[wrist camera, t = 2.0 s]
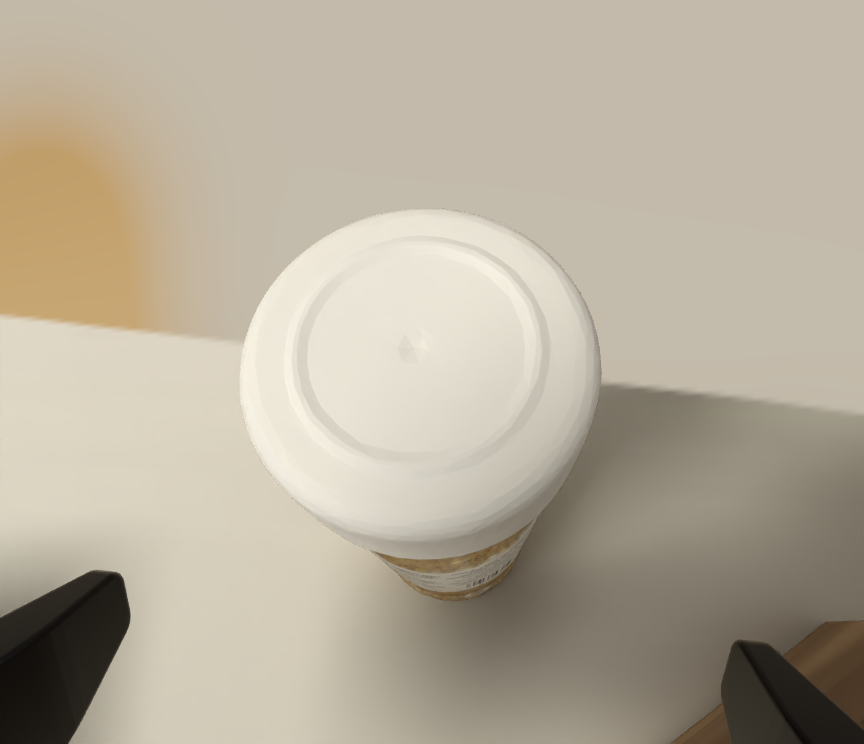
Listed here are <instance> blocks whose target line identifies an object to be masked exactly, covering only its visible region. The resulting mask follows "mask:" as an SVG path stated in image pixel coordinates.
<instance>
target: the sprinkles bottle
mask: <svg viewBox="0 0 864 744" xmlns="http://www.w3.org/2000/svg"><path fill="white" fill-rule="evenodd" d="M600 383H601V360H600V349H599V343H598V337H597V333H596V330H595V326H594V323H593V320H592V316H591V314H590V312H589V309H588V307H587V304H586V302H585V301H584V299H583V297H582V295H581V293H580V291H579V290H578V288H577V287H576V285H575V284H574V283H573V281H572V279H571V278H570V277H569V275H568V274H567V273H566V272H565V271H564V269H563V268H562V267H561V266H560V265H559V264H558V263H557V262H556V261H555V260H554V258H552V256H550V254H548V253H547V252H546V251H545V250H544V249H542V248H541V247H540V246H539V245H538V244H536V243H535V242H534V241H532V240H530V239H529V238H527V237H526V236H524V235H523V234H521V233H520V232H518V231H516V230H514V229H512V228H510V227H508V226H506V225H503V224H501V223H499V222H496V221H494V220H492V219H489V218H486V217H483V216H479V215H475V214H471V213H466V212H461V211H456V210H448V209H406V210H400V211H393V212H387V213H381V214H378V215H375V216H370V217H367V218H363V219H361V220H359V221H356V222H354V223H352V224H350V225H347V226H345V227H343V228H340V229H338V230H336V231H334V232H333V233H331V234H330V235H328V236H326V237H324V238H323V239H321V240H319V241H318V242H316V243H315V244H313V245H312V246H311V247H309V248H308V249H307V250H305V251H304V252H303V253H302V254H301V255H300V256H298V258H296V259H295V260H294V261H293V262H291V263H290V264H289V266H287V268H286V269H285V270H284V271H283V272H282V273H281V274H280V275H279V277H278V278H277V279H276V280H275V282H274V283H273V284H272V285H271V287H270V288H269V290H268V292H267V293H266V294H265V296H264V298H263V299H262V301H261V303H260V305H259V307H258V309H257V311H256V313H255V315H254V317H253V319H252V322H251V324H250V327H249V330H248V333H247V336H246V338H245V342H244V347H243V352H242V356H241V368H240V401H241V408H242V412H243V415H244V420H245V424H246V427H247V430H248V433H249V436H250V438H251V441H252V443H253V445H254V447H255V450H256V452H257V454H258V455H259V457H260V459H261V461H262V462H263V464H264V465H265V467H266V468H267V470H268V471H269V473H270V475H271V476H272V477H273V478H274V480H275V481H276V482H277V483H278V484H279V485H280V486H281V487H282V488H283V490H284V491H285V492H286V493H287V494H288V495H289V496H290V497H291V498H292V499H293V500H295V501H296V502H297V503H298V504H299V505H300V506H301V507H302V508H304V509H305V510H306V511H307V512H308V513H310V514H311V515H312V516H313V517H315V518H316V519H317V520H318V521H319V522H321V523H322V524H323V525H325V526H326V527H328V528H329V529H331V530H332V531H334V532H335V533H337V534H338V535H340V536H341V537H342V538H344V539H346V540H348V541H350V542H352V543H354V544H356V545H358V546H361V547H363V548H365V549H368V550H370V551H371V552H372V553H374V554H375V555H376V556H378V557H379V558H380V559H381V560H382V561H384V562H385V563H386V564H387V565H388V566H390V567H391V568H392V569H393V570H394V571H395V572H397V573H398V574H399V576H400V577H401V578H402V579H403V580H404V581H405V582H406V583H407V584H408V585H410V586H411V587H413V588H414V589H415V590H417V591H418V592H420V593H422V594H424V595H427V596H431V597H434V598H437V599H440V600H449V601H459V600H466V599H470V598H474V597H477V596H480V595H481V594H483V593H485V592H486V591H488V590H490V589H492V588H493V587H495V586H496V584H498V583H499V582H500V581H502V580H503V579H504V578H505V577H506V575H507V574H508V573H509V572H510V570H511V569H512V566H513V565H514V563H515V561H516V560H517V558H518V555H519V553H520V549H521V548H522V546H523V544H524V542H525V540H526V539H527V537H528V536H529V534H530V532H531V530H532V528H533V526H534V524H535V522H536V520H537V518H538V516H539V514H540V513H541V512H542V511H543V510H544V509H545V508H546V506H547V505H548V504H549V503H550V502H551V501H552V499H553V498H554V497H555V496H556V494H557V493H558V491H559V490H560V488H561V487H562V485H563V483H564V482H565V480H566V479H567V477H568V475H569V473H570V471H571V469H572V467H573V466H574V464H575V462H576V460H577V458H578V456H579V454H580V452H581V450H582V447H583V445H584V443H585V440H586V438H587V435H588V432H589V430H590V427H591V424H592V421H593V419H594V416H595V412H596V408H597V403H598V399H599V392H600Z"/></svg>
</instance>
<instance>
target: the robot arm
mask: <svg viewBox="0 0 864 744" xmlns="http://www.w3.org/2000/svg"><path fill="white" fill-rule="evenodd" d="M129 624H130V608H129V603H128V598H127V593H126V588H125V583H124V579H123V577H122V576H121V575H120V573H117V572H111V571H102V570H93V571H90V572H88V573H86V574H84V575H82V576H80V577H78V578H76V579H74V580H72V581H70V582H68V583H66V584H65V585H63V586H61V587H59V588H57V589H55V590H53V591H51V592H49V593H47V594H45V595H43V596H41V597H39V598H38V599H36V600H34V601H32V602H30V603H28V604H26V605H24V606H22V607H20V608H18V609H16V610H14V611H12V612H11V613H9V614H7V615H5V616H3V617H1V618H0V744H68V743H69V742H70V740H71V738H72V737H73V735H74V733H75V732H76V730H77V728H78V726H79V724H80V723H81V721H82V719H83V717H84V715H85V713H86V711H87V709H88V707H89V705H90V703H91V701H92V700H93V698H94V696H95V694H96V692H97V690H98V688H99V686H100V684H101V682H102V680H103V678H104V676H105V674H106V672H107V670H108V668H109V666H110V664H111V662H112V660H113V658H114V656H115V654H116V652H117V650H118V648H119V646H120V644H121V642H122V640H123V638H124V636H125V634H126V632H127V630H128V627H129ZM721 696H722V703H723V707H724V712H725V716H726V721H727V725H728V730H729V734H730V739H731V743H732V744H864V729H863V728H862V727H861V726H860V725H859V724H857V723H856V722H855V721H854V720H853V719H852V718H851V717H850V716H849V715H847V714H846V713H845V712H844V711H843V710H842V709H841V708H840V707H839V706H837V705H836V704H835V703H834V702H833V701H832V700H831V699H830V698H829V697H827V696H826V695H825V694H824V693H823V692H822V691H821V690H820V689H819V688H817V687H816V686H815V685H814V684H813V683H812V682H811V681H810V680H809V679H807V678H806V677H805V676H804V675H803V674H802V673H801V672H800V671H799V670H797V669H796V668H795V667H794V666H793V665H792V664H791V663H790V662H789V661H787V660H786V659H785V658H784V657H783V656H782V655H781V654H780V653H779V652H777V651H776V650H775V649H774V648H773V647H772V646H770V645H769V644H767V643H764V642H757V641H748V640H737V641H735V642H734V643H733V645H732V647H731V651H730V654H729V658H728V661H727V665H726V668H725V672H724V675H723V679H722V684H721Z"/></svg>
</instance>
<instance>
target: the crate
mask: <svg viewBox="0 0 864 744" xmlns="http://www.w3.org/2000/svg"><path fill="white" fill-rule="evenodd" d="M783 657H784V658H785V659H786V660H787V661H789V662H790V663H791V664H792V665H793V666H794V667H795V668H796V669H797V670H799V671H800V672H801V673H802V674H803V675H804V676H805V677H806V678H807V679H809V680H810V681H811V682H812V683H813V684H814V685H815V686H816V687H817V688H819V689H820V690H821V691H822V692H823V693H824V694H825V695H826V696H827V697H829V698H830V699H831V700H832V701H833V702H834V703H835V704H836V705H837V706H839V707H840V708H841V709H842V710H843V711H844V712H845V713H846V714H847V715H849V716H850V717H851V718H852V719H853V720H854V721H855V722H856V723H857V724H859V725H860V726H861V727H862V728H863V729H864V620H863V621H841V622H826V623H824V624H823V625H822V626H820V627H819V628H818V629H817V630H815V631H814V632H813V633H812V634H810V635H809V636H808V637H806V638H805V639H804V640H803V641H801V642H800V643H799V644H798V645H796V646H795V647H794V648H792V649H791V650H790V651H789V652H787V653H786V654H785V655H783ZM671 744H732V743H731V739H730V734H729V730H728V725H727V721H726V716H725V712H724V707H723V703H722V704H721V705H720V706H718V707H717V708H716V709H715V710H713V711H712V712H711V713H709V714H708V715H707V716H706V717H704V718H703V719H702V720H701V721H699V722H698V723H697V724H695V725H694V726H693V727H692V728H690V729H689V730H688V731H687V732H685V733H684V734H683V735H681V736H680V737H679V738H678V739H676V740H675V741H674V742H673V743H671Z"/></svg>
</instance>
